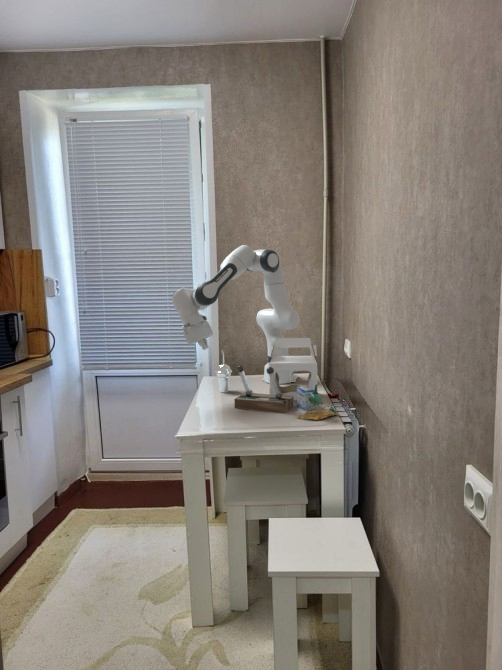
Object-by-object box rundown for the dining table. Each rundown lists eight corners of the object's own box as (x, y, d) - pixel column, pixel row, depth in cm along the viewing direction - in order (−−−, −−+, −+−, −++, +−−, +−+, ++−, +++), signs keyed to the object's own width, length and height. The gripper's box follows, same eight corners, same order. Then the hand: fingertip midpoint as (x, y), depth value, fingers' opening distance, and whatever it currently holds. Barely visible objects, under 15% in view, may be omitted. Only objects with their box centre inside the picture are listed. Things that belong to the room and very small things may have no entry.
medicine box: (296, 406, 210) (296, 386, 209) (305, 404, 212) (305, 385, 211) (305, 410, 203) (305, 390, 202) (314, 409, 205) (314, 389, 204)
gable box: (316, 393, 232) (316, 335, 228) (318, 400, 218) (317, 339, 215) (270, 393, 234) (269, 336, 230) (269, 400, 220) (268, 340, 217)
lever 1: (248, 395, 215) (237, 365, 215) (254, 393, 213) (243, 363, 213) (245, 397, 212) (234, 367, 212) (251, 395, 210) (240, 365, 210)
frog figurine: (342, 421, 188) (338, 384, 186) (297, 426, 189) (292, 390, 187) (338, 413, 198) (335, 378, 196) (295, 418, 199) (291, 384, 197)
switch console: (245, 401, 220) (245, 391, 220) (294, 405, 212) (294, 395, 211) (234, 408, 209) (234, 397, 209) (286, 412, 201) (286, 402, 200)
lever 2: (277, 398, 209) (266, 367, 209) (284, 396, 208) (273, 365, 208) (275, 400, 206) (264, 368, 207) (282, 398, 205) (271, 366, 205)
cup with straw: (213, 392, 237) (211, 352, 234) (219, 388, 245) (218, 349, 243) (229, 393, 234) (228, 353, 231) (235, 389, 243) (234, 350, 240)
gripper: (187, 322, 209) (201, 350, 209) (207, 315, 228) (220, 341, 228) (176, 328, 212) (190, 356, 212) (197, 321, 231) (210, 347, 231)
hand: (206, 348), depth 220 cm, fingers closed
